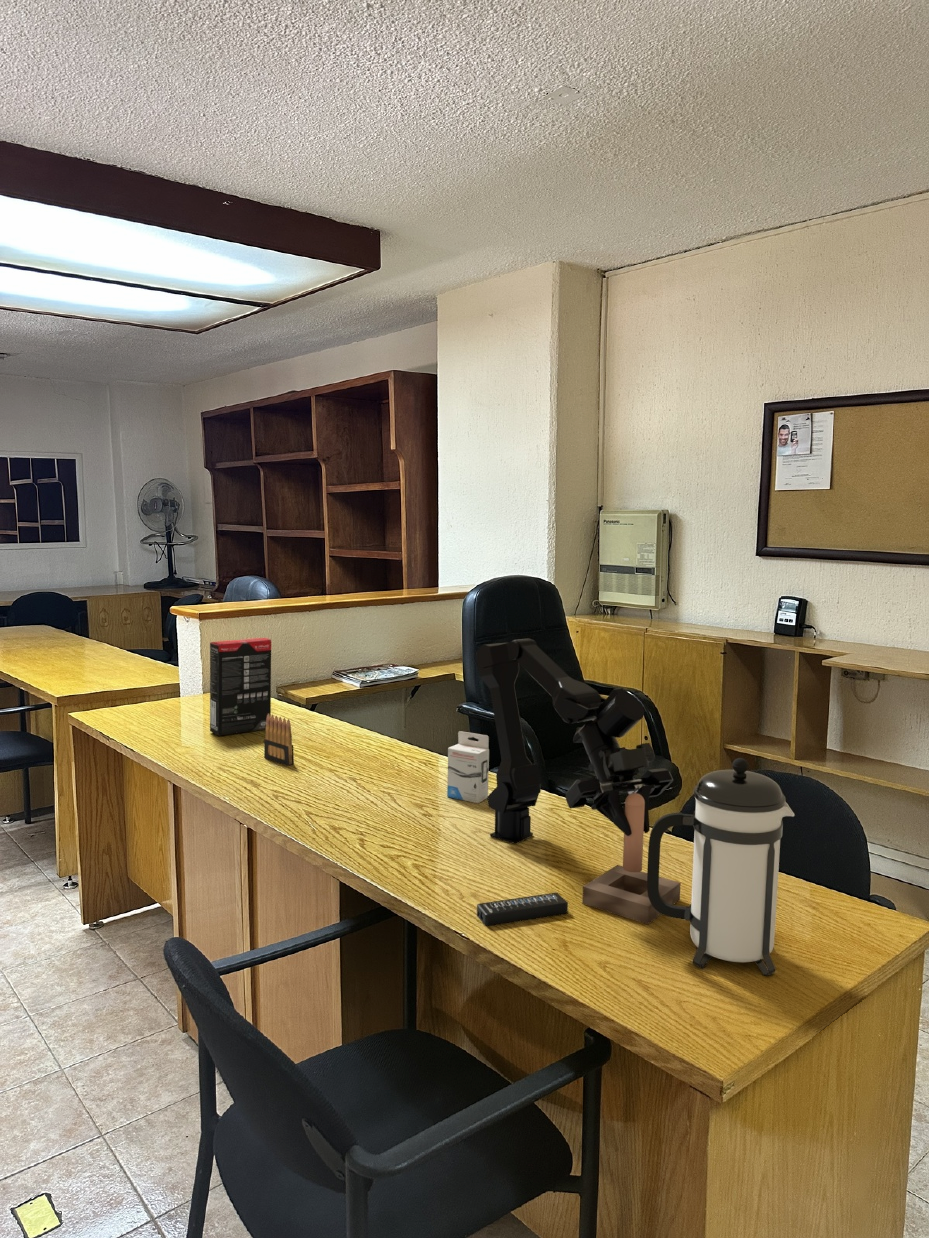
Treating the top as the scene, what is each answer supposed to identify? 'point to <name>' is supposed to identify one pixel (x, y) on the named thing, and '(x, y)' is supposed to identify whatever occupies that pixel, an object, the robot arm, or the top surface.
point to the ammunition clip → (278, 741)
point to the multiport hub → (521, 909)
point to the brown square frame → (628, 894)
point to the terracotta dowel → (634, 833)
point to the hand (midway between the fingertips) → (638, 833)
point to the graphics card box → (240, 685)
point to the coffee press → (729, 866)
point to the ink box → (468, 768)
